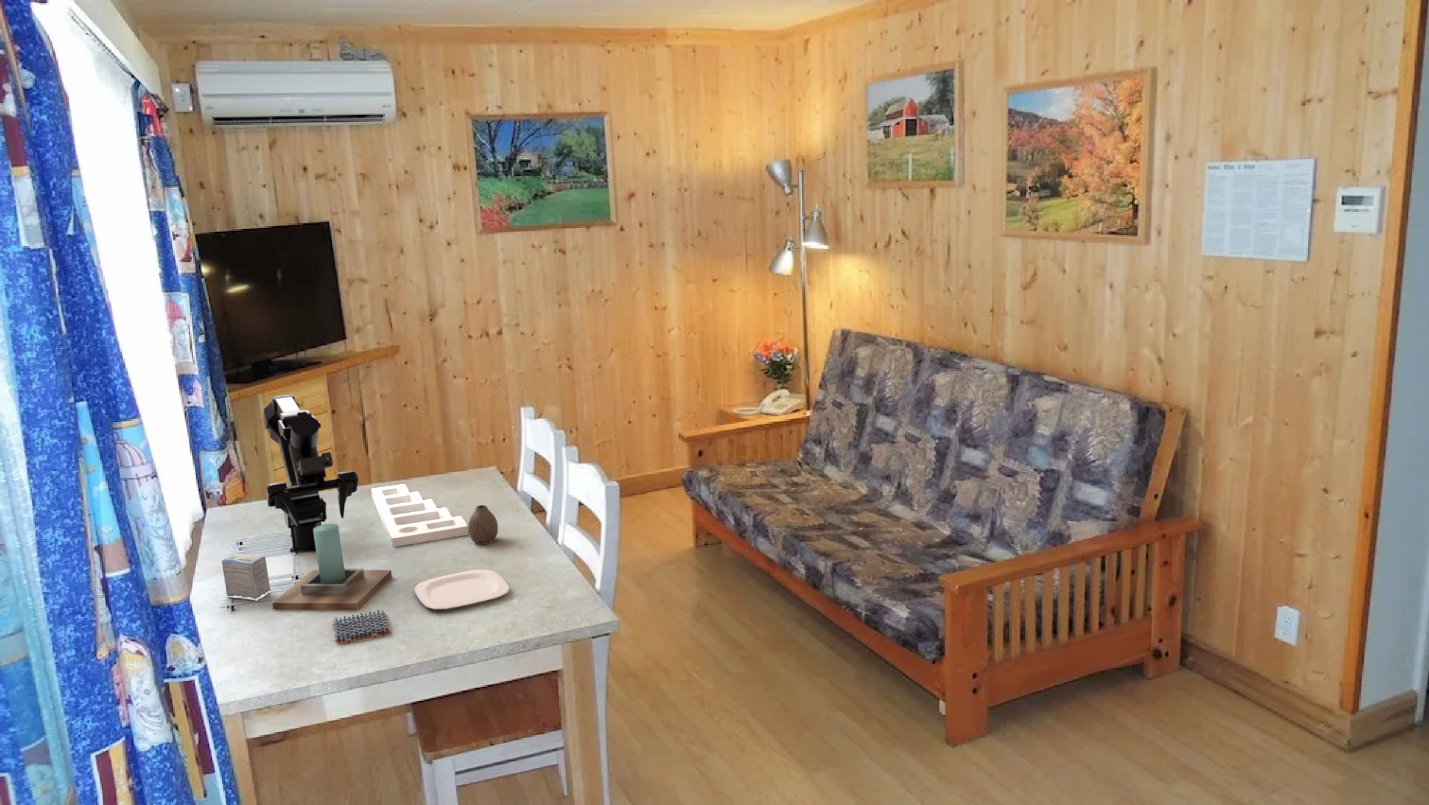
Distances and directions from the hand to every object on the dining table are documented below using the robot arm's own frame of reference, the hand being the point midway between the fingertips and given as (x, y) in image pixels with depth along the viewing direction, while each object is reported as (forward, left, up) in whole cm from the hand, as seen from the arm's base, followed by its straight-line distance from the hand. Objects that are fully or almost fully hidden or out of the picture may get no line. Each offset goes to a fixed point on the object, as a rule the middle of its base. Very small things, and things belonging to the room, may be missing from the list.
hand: (320, 521), depth 228 cm
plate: (+33, -7, -14) cm, 36 cm away
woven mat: (+18, -25, -14) cm, 34 cm away
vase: (+28, +24, -14) cm, 39 cm away
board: (+5, -7, -14) cm, 16 cm away
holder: (+3, +45, -14) cm, 47 cm away
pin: (+5, -7, -12) cm, 14 cm away
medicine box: (-13, -9, -14) cm, 21 cm away
